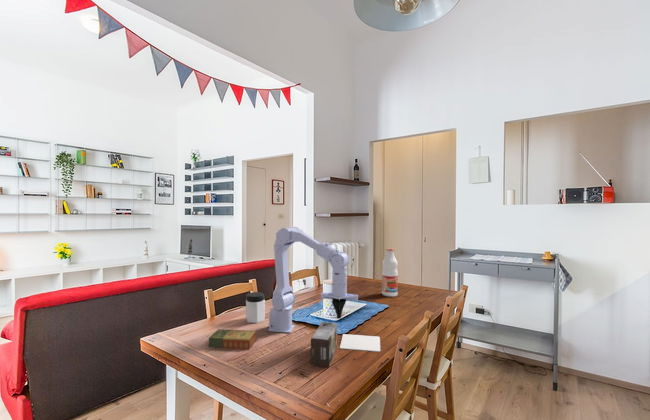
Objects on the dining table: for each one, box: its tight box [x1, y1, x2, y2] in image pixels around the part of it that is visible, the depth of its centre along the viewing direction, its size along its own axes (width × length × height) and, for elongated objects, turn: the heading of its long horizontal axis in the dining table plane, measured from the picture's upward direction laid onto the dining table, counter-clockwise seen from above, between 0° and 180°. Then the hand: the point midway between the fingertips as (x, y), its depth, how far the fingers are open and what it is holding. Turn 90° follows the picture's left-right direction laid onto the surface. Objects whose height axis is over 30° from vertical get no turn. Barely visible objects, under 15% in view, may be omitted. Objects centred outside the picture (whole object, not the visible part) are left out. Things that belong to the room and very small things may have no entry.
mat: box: [339, 333, 381, 353], centre depth 123 cm, size 15×13×1 cm
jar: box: [245, 291, 266, 324], centre depth 146 cm, size 9×8×12 cm
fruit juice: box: [381, 247, 399, 297], centre depth 191 cm, size 9×9×28 cm
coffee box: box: [310, 321, 338, 368], centre depth 112 cm, size 9×6×16 cm
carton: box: [208, 328, 258, 350], centre depth 121 cm, size 8×16×4 cm, turn 84°
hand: (339, 317), depth 124 cm, fingers closed
